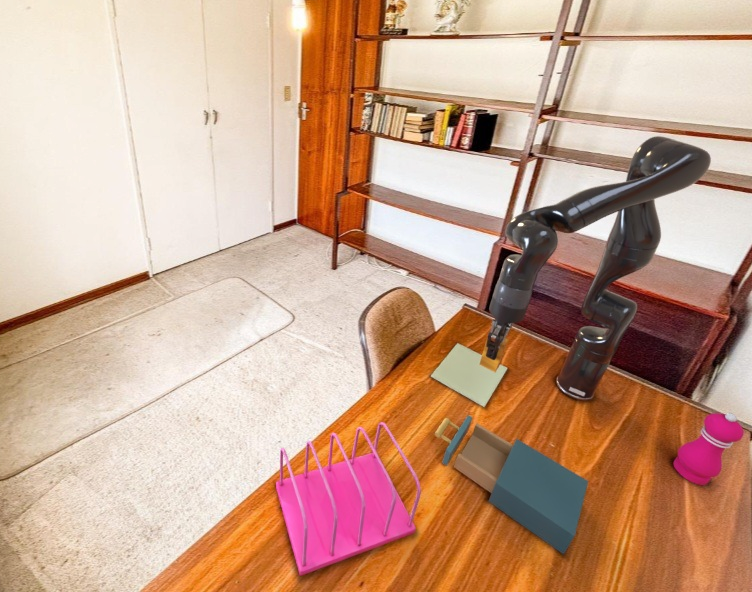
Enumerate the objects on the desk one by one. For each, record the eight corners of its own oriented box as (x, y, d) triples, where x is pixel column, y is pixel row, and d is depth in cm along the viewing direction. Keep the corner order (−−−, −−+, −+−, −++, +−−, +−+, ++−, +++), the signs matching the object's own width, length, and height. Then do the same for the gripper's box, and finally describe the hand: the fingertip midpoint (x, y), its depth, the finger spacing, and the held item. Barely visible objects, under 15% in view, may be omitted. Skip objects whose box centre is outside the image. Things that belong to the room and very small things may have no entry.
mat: (457, 344, 133) (457, 343, 133) (507, 369, 123) (507, 367, 123) (430, 376, 120) (431, 375, 119) (484, 407, 110) (484, 405, 110)
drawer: (425, 451, 96) (429, 438, 94) (448, 417, 105) (452, 405, 103) (501, 504, 86) (506, 490, 84) (519, 462, 95) (525, 448, 93)
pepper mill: (718, 490, 91) (766, 432, 82) (682, 483, 92) (726, 425, 84) (696, 461, 97) (739, 404, 89) (663, 455, 99) (702, 398, 90)
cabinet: (488, 501, 87) (495, 482, 84) (509, 456, 97) (516, 438, 94) (563, 554, 78) (574, 536, 75) (577, 499, 88) (588, 481, 85)
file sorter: (275, 486, 88) (276, 439, 82) (374, 456, 96) (383, 411, 89) (299, 577, 74) (303, 529, 67) (415, 533, 81) (429, 486, 74)
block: (483, 358, 104) (491, 331, 100) (499, 366, 101) (508, 339, 97) (479, 364, 102) (487, 337, 98) (495, 372, 99) (504, 345, 95)
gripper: (519, 319, 85) (499, 377, 93) (536, 292, 95) (516, 347, 102) (484, 304, 90) (467, 361, 97) (503, 280, 99) (487, 333, 107)
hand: (493, 353), depth 100 cm, fingers closed on block, 3 cm apart
